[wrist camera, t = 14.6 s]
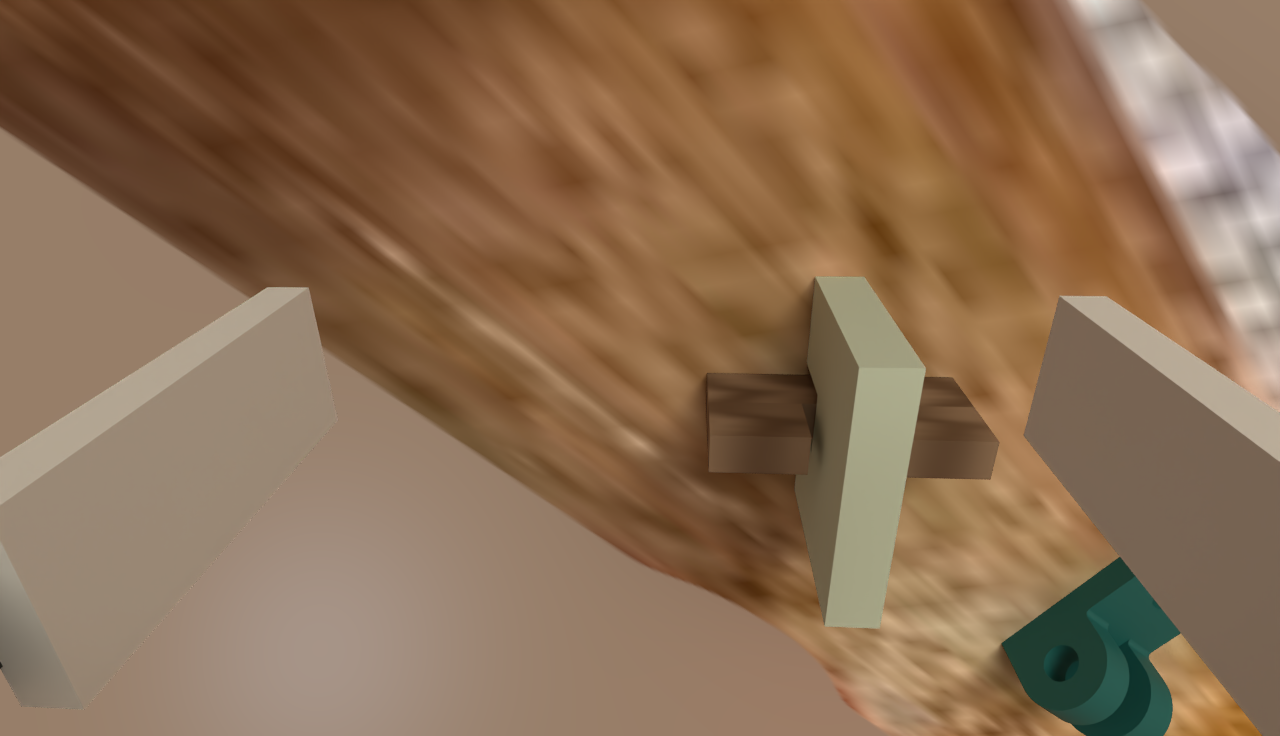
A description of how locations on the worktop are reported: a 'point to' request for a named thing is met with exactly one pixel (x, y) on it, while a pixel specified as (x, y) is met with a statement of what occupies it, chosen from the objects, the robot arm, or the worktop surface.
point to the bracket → (1098, 657)
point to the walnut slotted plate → (785, 416)
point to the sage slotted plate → (856, 448)
